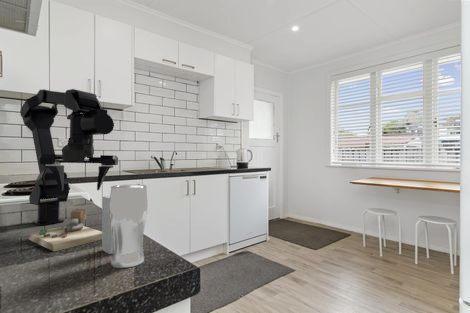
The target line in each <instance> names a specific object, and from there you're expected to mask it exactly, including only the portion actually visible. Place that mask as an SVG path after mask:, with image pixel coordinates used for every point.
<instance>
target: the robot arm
mask: <svg viewBox="0 0 470 313" xmlns="http://www.w3.org/2000/svg"><path fill="white" fill-rule="evenodd" d="M97 97H98V96H97V95H96V94H95V93H92V92H87V91H83V90H79V89H75V88H70V89H66V90H65V92H64V91H54V90H50V89H44V88H42V89H39V91H38V92H37V94H35V95H33V96H30V97H29V98H27V99H26V100H24V103H23V104H22V105H21V108H20V111H19V113H20V117H21V119H22V121H23V124H24V126H25V127H26V128H27V129H29V130H30V132H31V134H32V139H33V146H34V149H35V151H34V152H35V154H36V162H37V165H38V166H37V167H38V170H39V174H38V176H37V177H36V179H35V180H34V188H33V189H32V191H31V193H30V195H29V197H28V200H29V204H30V205H35V206H36V207H37V208H36V209H37V210H36V211H37V215H36V220H32V223H33V224H35V225H38V226H45V225H51V224H56V223H63V222H65V219H62V218H60V214H61V213H60V211H61V209H60V207H61V205H60V204H61V203H62V202H63V203H64V202H67V201H68V199H69V193H70V189H71V188H70V187H71V186H70V182H69V180H68V174H67V172H66V171H65V165H64V164H65V163H66V164H100V166H99V165H98V177H97V181H96V182H97V184H96V190H97V191H100V189H101V186H102V184H103V181H104V180H105V177H106V175H107V174H108V172H109V170H110V169H113V168H114V166H119V157H118V156H117V155H108V154H107V155H105V154H103V155H102V154H101V155H100V157H99V156H94V153H95V149H94V142H95V141H94V135H95V136H96V135H101V136H102V135H108V134H110V133H111V132H112V131H113V130H114V127H115V123H114V120H113V118H112V117H111V115H109V114H108V109H105V108H103V107H102V105H101V102H100V101H99V99H98V98H97ZM42 103H46V104H52V106H51V107H50V106H48V105H47V106H45V105H41V104H42ZM58 105H62V106H63V107H64V108H67V109H68V110H71V113H69V114H68V115H67V116H66V119H67V120H69V137H68V140H67V144H65V145H64V146H63V147H62V148H61V154H56V151H55V148H54V147H55V146H54V142H53V138H52V132H51V128H52V125H53V124H54V123H55V117H56V116H57V115H58V114H59V110H58ZM62 164H63V165H62Z"/></svg>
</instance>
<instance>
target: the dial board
mask: <svg viewBox="0 0 470 313" xmlns="http://www.w3.org/2000/svg"><path fill="white" fill-rule="evenodd" d="M27 240H29V241H31V242H32V243H36V244H37V245H39V246H42V247H44V248H46V249H48V250H50V251H52V252H57V251H61V250H65V249H70V248H74V247H77V246H81V245H85V244H88V243H89V244H90V243H93V242H98V241H102V230H98V229H94V228H91V227H88V226H85V225H83V228H82V229H79V230H73V231H69V232H68V233H65V230H64V226H60V227H55V228H50V229H41V230H38V231H34V232H29V233H28V239H27Z"/></svg>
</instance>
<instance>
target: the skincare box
mask: <svg viewBox="0 0 470 313" xmlns="http://www.w3.org/2000/svg"><path fill="white" fill-rule="evenodd" d="M101 200H102V202H101V203H102V204H101V205H102V206H101V207H102V210H101V213H102V214H101V215H102V216H101V217H102V218H101V227H102V228H101V231H102V240H101V249H102V251H103V252H105V253H106V254H108V255H113V248H114V243H113V235H112V229H111V223H110V213H109V207H110V195H107V196H106V195H105V196H104V195H103V196H102V199H101Z"/></svg>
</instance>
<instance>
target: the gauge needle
mask: <svg viewBox="0 0 470 313" xmlns="http://www.w3.org/2000/svg"><path fill="white" fill-rule="evenodd" d="M87 210H88V209H87V208H86V207H82V208H78V207H77V208H75V209H74V210H72V211H70V218H69V221H68V222H69V224H66V225H63V227H64V230H65V233H68V232H69V231H73V230H79V229H82V228H83V226H84V223H83V222H85V221H86V220H87Z"/></svg>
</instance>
